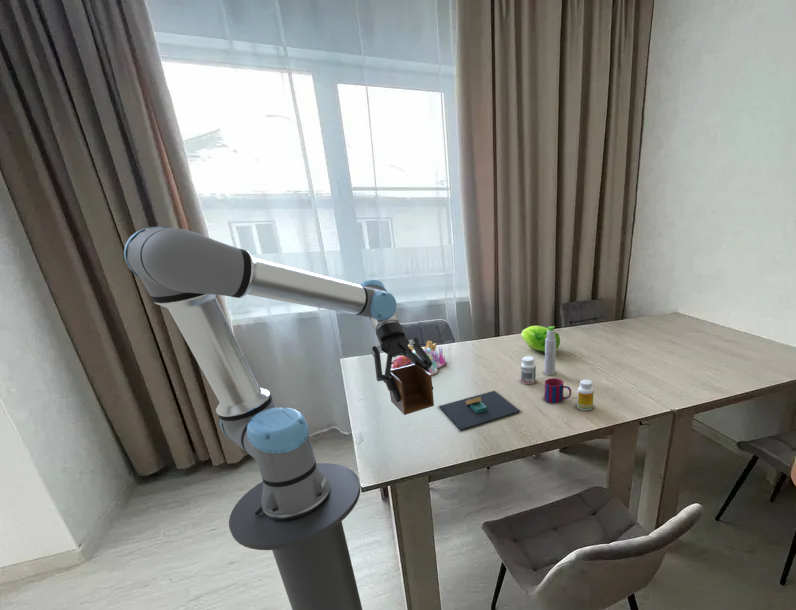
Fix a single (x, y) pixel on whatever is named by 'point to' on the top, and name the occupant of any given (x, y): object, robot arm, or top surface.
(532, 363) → the pill bottle
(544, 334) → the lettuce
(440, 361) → the candy landscape model
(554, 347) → the bottle
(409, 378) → the open wooden box
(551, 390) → the mug
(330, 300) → the robot arm
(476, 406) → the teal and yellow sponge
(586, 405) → the supplement bottle
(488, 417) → the mat
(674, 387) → the top surface
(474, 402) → the block
